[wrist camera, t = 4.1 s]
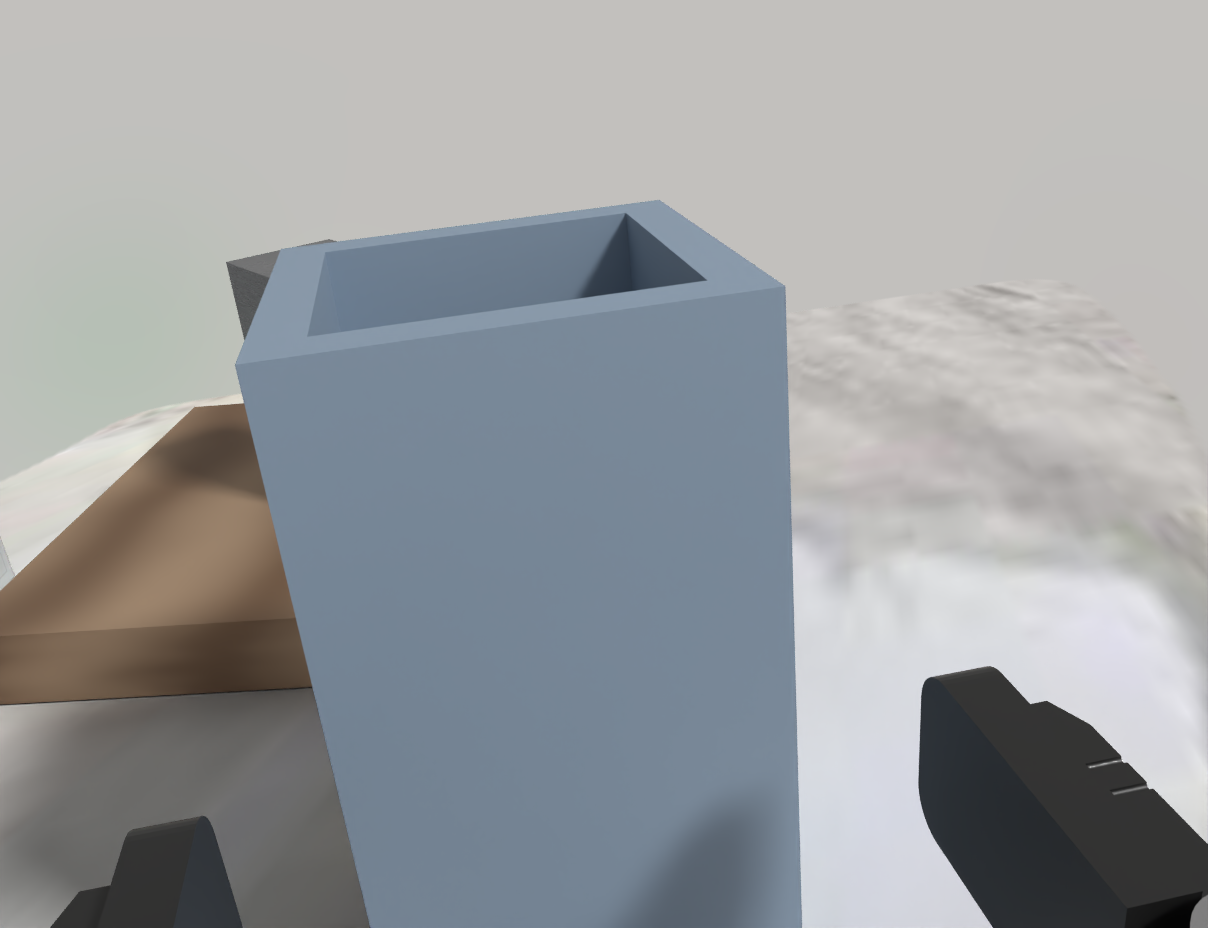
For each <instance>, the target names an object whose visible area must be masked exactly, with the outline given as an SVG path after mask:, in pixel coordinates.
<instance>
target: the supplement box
mask: <svg viewBox="0 0 1208 928" xmlns="http://www.w3.org/2000/svg"><path fill="white" fill-rule="evenodd" d="M14 576H15V573H14V571H13V569H12V567H11V564H10V562H9V559H8V556H7V554H6V551H5V548H4V545H3V543H2V540H1V537H0V590H2V589H3V588H4V587H5V586H6V585H7V584H8V583H9V582H10V581H11V580H12V579H13V578H14Z"/></svg>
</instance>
